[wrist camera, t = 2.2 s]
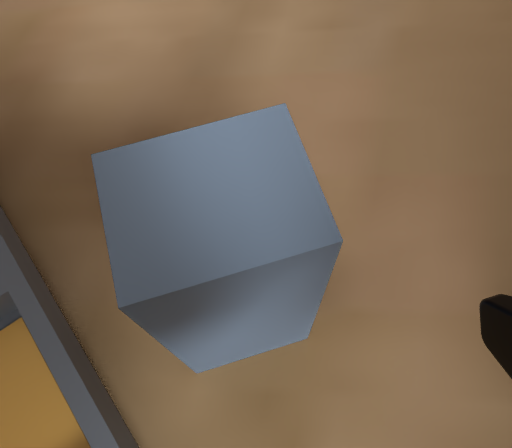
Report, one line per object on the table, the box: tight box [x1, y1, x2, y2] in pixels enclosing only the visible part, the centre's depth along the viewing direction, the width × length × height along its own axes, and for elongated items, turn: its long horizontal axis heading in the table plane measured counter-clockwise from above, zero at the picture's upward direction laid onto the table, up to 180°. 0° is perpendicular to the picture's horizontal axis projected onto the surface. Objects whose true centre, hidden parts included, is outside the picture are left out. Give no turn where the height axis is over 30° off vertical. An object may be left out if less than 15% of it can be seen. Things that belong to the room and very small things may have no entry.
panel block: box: [91, 103, 343, 373], centre depth 16 cm, size 4×5×11 cm
